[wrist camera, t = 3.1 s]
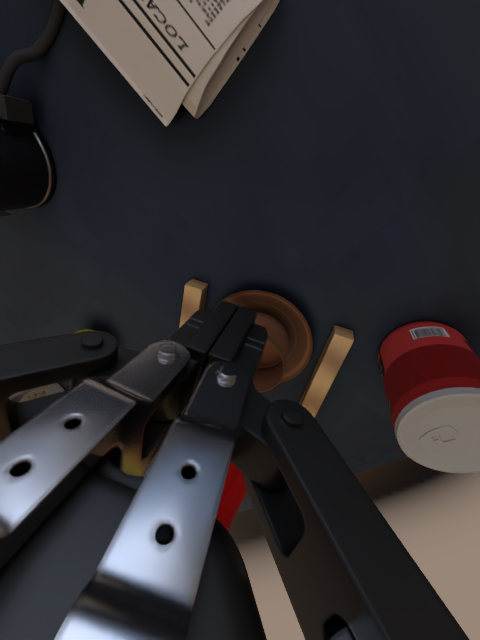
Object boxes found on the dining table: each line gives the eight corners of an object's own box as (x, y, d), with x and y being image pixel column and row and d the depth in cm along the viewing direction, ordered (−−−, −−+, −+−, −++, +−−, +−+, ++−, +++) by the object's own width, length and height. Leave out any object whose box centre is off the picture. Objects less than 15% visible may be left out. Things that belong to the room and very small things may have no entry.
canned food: (360, 352, 31) (372, 430, 22) (426, 302, 27) (476, 372, 18) (412, 394, 32) (445, 488, 23) (484, 352, 28) (562, 445, 19)
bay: (192, 278, 33) (184, 284, 31) (353, 330, 31) (354, 340, 29) (176, 391, 42) (169, 401, 40) (299, 438, 40) (297, 451, 38)
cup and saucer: (193, 326, 36) (169, 353, 31) (260, 261, 30) (244, 281, 25) (261, 390, 38) (249, 426, 32) (337, 341, 32) (338, 375, 26)
